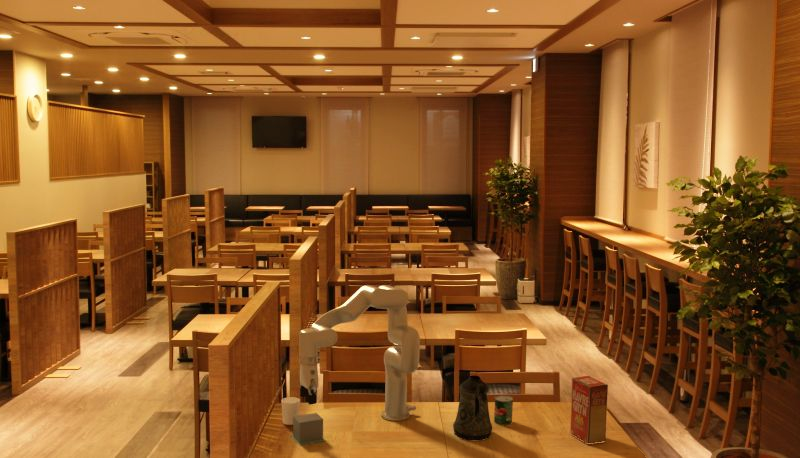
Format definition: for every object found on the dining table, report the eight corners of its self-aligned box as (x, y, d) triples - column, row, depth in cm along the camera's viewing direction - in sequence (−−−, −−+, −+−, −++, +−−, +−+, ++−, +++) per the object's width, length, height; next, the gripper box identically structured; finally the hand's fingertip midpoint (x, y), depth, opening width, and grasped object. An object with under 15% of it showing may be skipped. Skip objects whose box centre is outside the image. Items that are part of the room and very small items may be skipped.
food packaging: (568, 434, 334) (571, 377, 331) (586, 431, 338) (589, 374, 335) (587, 445, 322) (590, 386, 319) (606, 442, 326) (609, 384, 323)
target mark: (315, 431, 332) (315, 431, 332) (325, 440, 322) (325, 440, 322) (290, 435, 327) (290, 435, 327) (299, 445, 317) (299, 444, 317)
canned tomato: (491, 423, 345) (492, 399, 343) (496, 418, 352) (497, 394, 350) (509, 426, 342) (510, 402, 340) (514, 420, 349) (514, 396, 348)
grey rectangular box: (316, 433, 330) (316, 412, 329) (322, 439, 323) (323, 419, 322) (293, 437, 325) (293, 416, 324) (299, 443, 319) (299, 422, 317)
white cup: (296, 426, 337) (296, 403, 336) (278, 424, 339) (278, 402, 337) (302, 420, 345) (302, 397, 344) (285, 418, 346) (285, 396, 345)
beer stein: (470, 423, 345) (472, 368, 342) (505, 436, 331) (507, 378, 328) (444, 433, 333) (446, 375, 330) (480, 446, 319) (482, 387, 316)
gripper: (324, 364, 314) (324, 405, 316) (309, 353, 330) (309, 392, 332) (307, 366, 311) (306, 408, 313) (292, 355, 326) (292, 395, 328)
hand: (308, 400), depth 322 cm, fingers open, 9 cm apart
